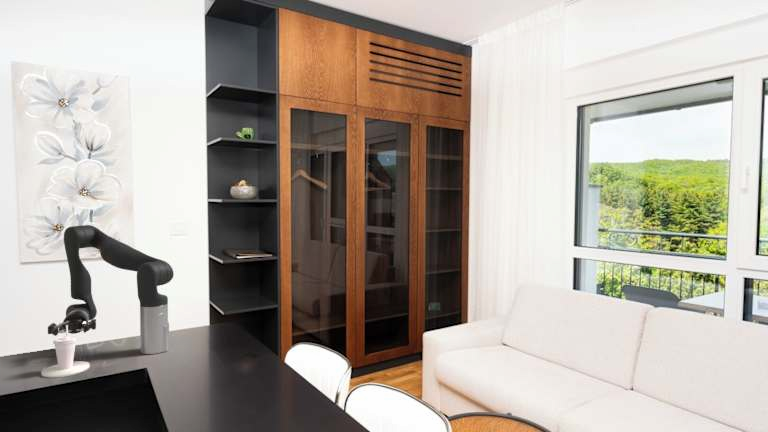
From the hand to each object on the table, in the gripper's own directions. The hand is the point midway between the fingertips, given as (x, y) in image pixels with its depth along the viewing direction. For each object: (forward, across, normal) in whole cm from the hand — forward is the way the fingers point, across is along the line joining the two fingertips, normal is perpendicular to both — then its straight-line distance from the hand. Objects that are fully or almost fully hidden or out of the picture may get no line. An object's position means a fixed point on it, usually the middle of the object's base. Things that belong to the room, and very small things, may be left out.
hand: (70, 331), depth 158 cm
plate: (+11, 0, +10) cm, 15 cm away
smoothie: (+11, 0, +10) cm, 15 cm away
